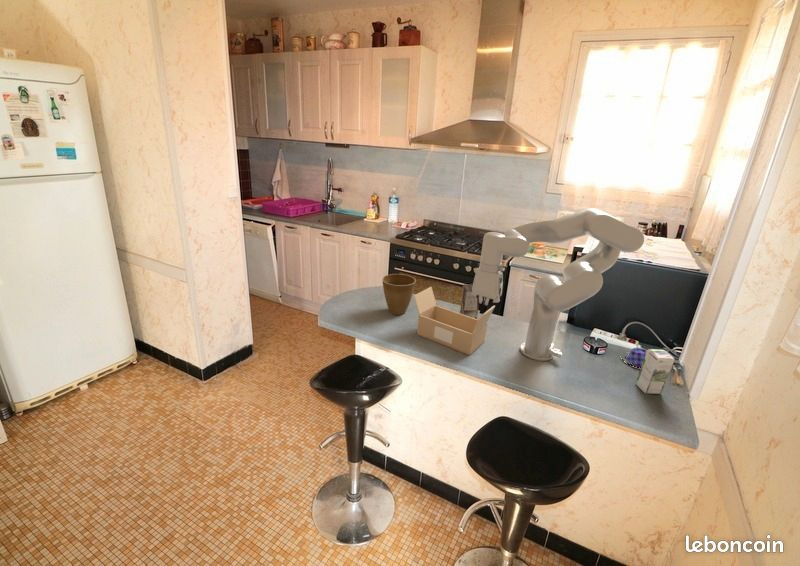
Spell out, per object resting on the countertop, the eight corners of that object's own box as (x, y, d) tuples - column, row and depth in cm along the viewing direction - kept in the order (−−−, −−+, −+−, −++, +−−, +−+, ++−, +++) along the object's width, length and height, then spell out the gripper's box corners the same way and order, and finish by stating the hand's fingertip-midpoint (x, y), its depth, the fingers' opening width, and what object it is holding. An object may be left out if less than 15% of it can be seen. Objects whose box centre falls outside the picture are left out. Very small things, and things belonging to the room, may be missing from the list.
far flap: (431, 286, 165) (430, 286, 165) (414, 295, 155) (413, 295, 155) (436, 304, 166) (435, 304, 166) (419, 314, 156) (418, 314, 156)
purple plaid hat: (642, 354, 156) (646, 343, 154) (662, 372, 145) (667, 360, 143) (613, 353, 155) (617, 342, 153) (631, 371, 144) (635, 359, 142)
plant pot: (414, 306, 185) (417, 275, 179) (411, 320, 171) (413, 287, 165) (384, 303, 187) (385, 271, 181) (377, 316, 173) (379, 283, 167)
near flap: (479, 316, 140) (480, 317, 140) (494, 305, 150) (495, 305, 150) (471, 333, 144) (472, 334, 144) (486, 321, 154) (487, 321, 153)
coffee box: (476, 326, 170) (481, 292, 164) (461, 325, 170) (466, 291, 164) (473, 316, 178) (477, 284, 173) (459, 315, 178) (463, 283, 173)
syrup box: (650, 384, 137) (663, 348, 131) (661, 395, 131) (675, 358, 126) (634, 383, 136) (647, 348, 131) (645, 394, 131) (658, 357, 125)
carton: (484, 342, 157) (487, 322, 154) (469, 356, 147) (472, 335, 143) (433, 323, 170) (435, 305, 166) (416, 334, 159) (418, 315, 156)
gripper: (514, 269, 138) (505, 315, 145) (475, 259, 146) (469, 304, 153) (505, 274, 132) (497, 322, 139) (466, 264, 140) (460, 310, 147)
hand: (483, 312), depth 146 cm, fingers closed
